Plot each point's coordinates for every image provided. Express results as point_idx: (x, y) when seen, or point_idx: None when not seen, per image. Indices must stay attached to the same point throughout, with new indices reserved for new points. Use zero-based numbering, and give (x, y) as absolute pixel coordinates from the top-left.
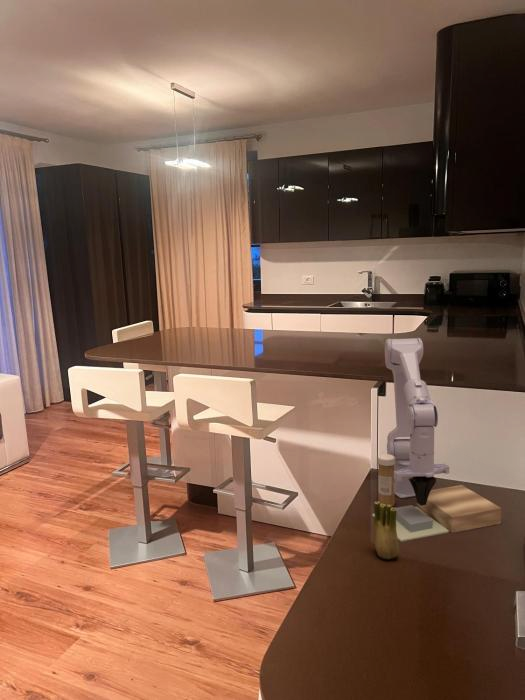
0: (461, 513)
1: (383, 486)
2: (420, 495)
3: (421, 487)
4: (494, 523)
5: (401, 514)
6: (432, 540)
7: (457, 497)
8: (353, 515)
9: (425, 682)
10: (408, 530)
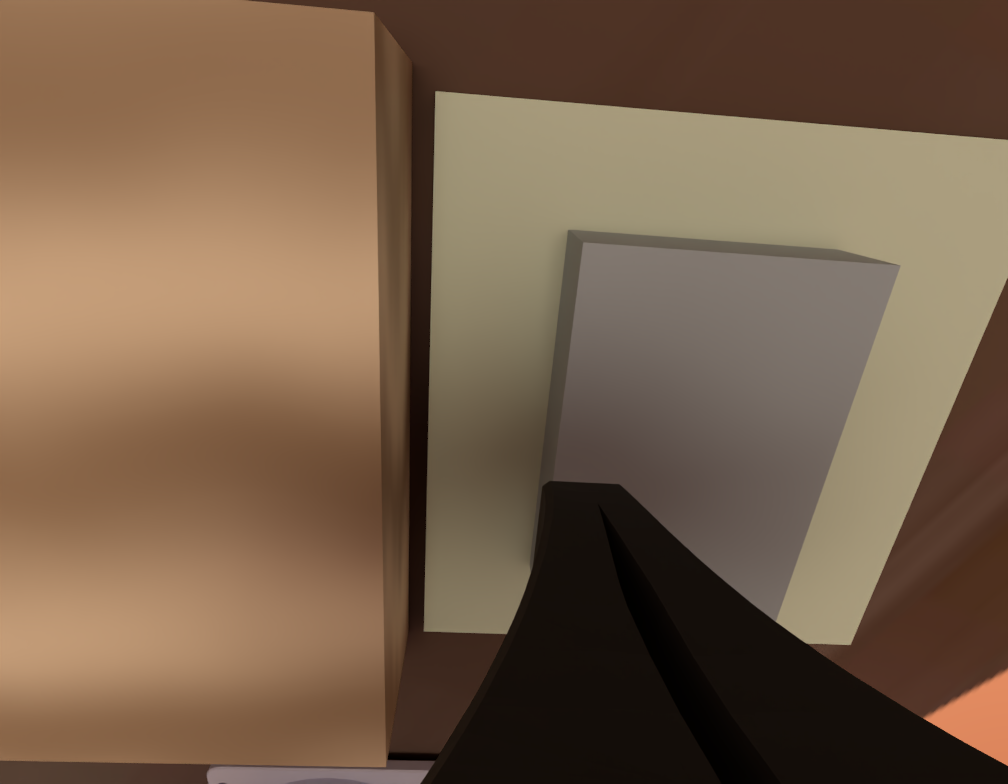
0: (130, 71)
1: None
2: (727, 596)
3: (932, 760)
4: None
5: (788, 502)
6: (738, 12)
7: None
8: (954, 677)
9: None
10: None
